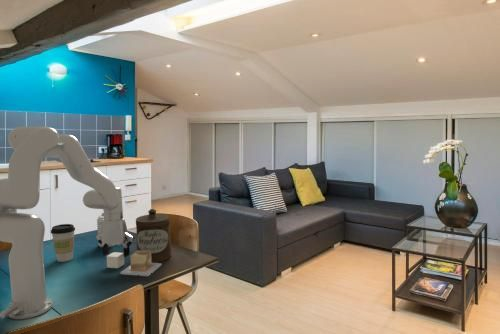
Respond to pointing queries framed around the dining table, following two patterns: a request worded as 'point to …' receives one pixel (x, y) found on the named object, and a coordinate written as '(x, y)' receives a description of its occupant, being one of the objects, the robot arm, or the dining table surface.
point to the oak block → (141, 260)
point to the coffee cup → (63, 241)
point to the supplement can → (99, 224)
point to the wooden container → (154, 235)
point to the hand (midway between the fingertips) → (116, 255)
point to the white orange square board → (140, 272)
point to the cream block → (115, 260)
